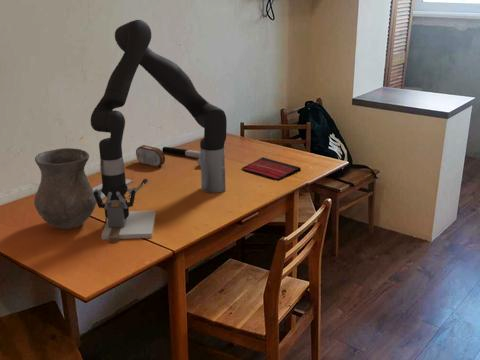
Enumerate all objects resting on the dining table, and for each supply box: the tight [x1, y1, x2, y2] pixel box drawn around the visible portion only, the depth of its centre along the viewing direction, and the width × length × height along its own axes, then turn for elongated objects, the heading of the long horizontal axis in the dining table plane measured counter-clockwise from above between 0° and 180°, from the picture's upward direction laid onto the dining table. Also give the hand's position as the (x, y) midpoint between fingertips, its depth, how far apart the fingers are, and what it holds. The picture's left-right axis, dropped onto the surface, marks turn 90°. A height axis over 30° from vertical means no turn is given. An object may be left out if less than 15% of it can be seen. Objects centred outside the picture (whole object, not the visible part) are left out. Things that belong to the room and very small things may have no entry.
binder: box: [241, 156, 302, 181], centre depth 235 cm, size 16×2×21 cm
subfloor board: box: [101, 210, 157, 243], centre depth 184 cm, size 16×22×2 cm
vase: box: [33, 147, 97, 231], centre depth 182 cm, size 20×19×25 cm
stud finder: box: [107, 200, 126, 228], centre depth 183 cm, size 5×8×7 cm, turn 4°
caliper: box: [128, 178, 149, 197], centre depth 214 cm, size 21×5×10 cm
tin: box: [135, 144, 166, 168], centre depth 241 cm, size 15×3×8 cm, turn 58°
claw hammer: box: [161, 145, 226, 168], centre depth 253 cm, size 6×22×30 cm
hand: (117, 217), depth 183 cm, fingers closed on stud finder, 5 cm apart
